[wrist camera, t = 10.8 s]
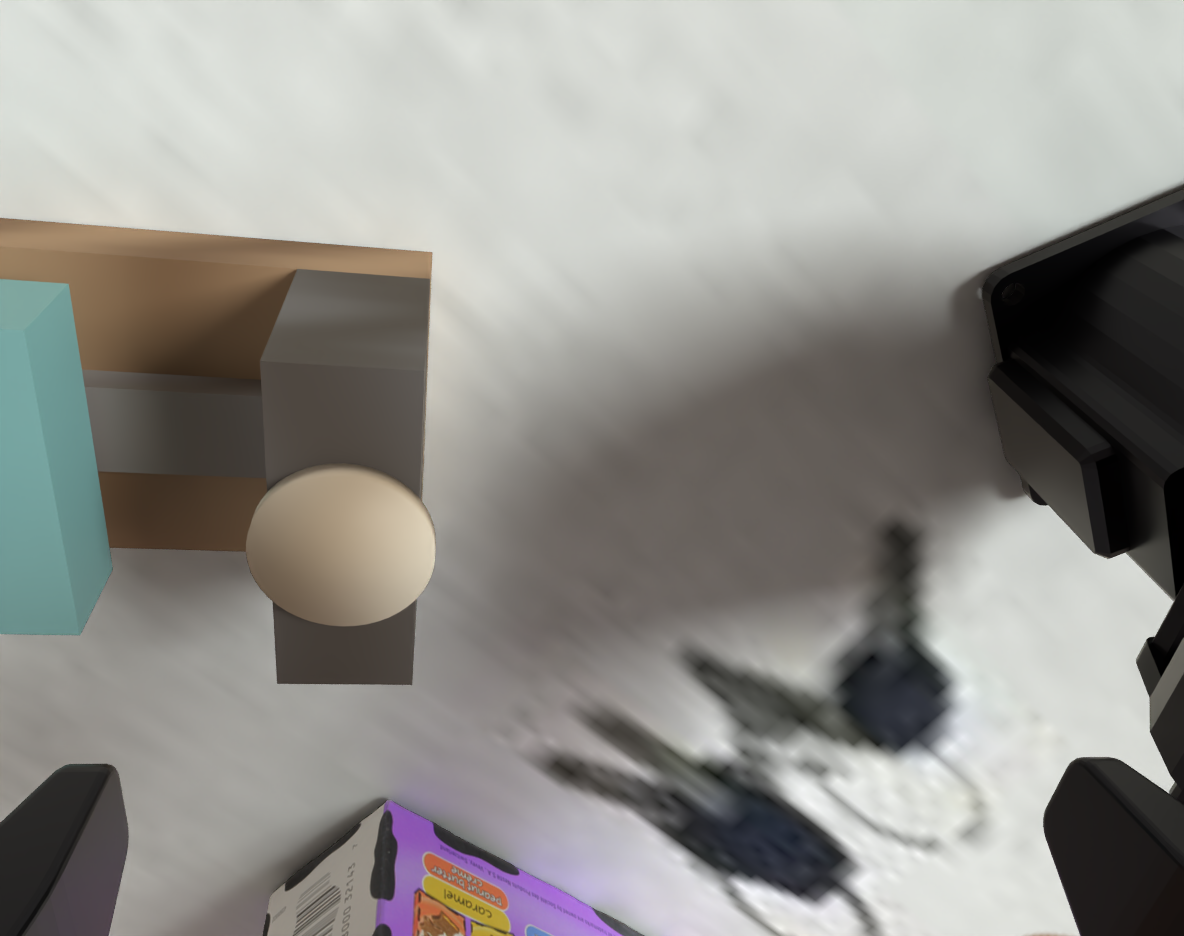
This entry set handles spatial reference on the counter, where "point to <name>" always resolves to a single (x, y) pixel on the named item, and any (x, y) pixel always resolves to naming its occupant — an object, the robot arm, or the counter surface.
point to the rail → (261, 420)
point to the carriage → (46, 468)
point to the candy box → (423, 889)
